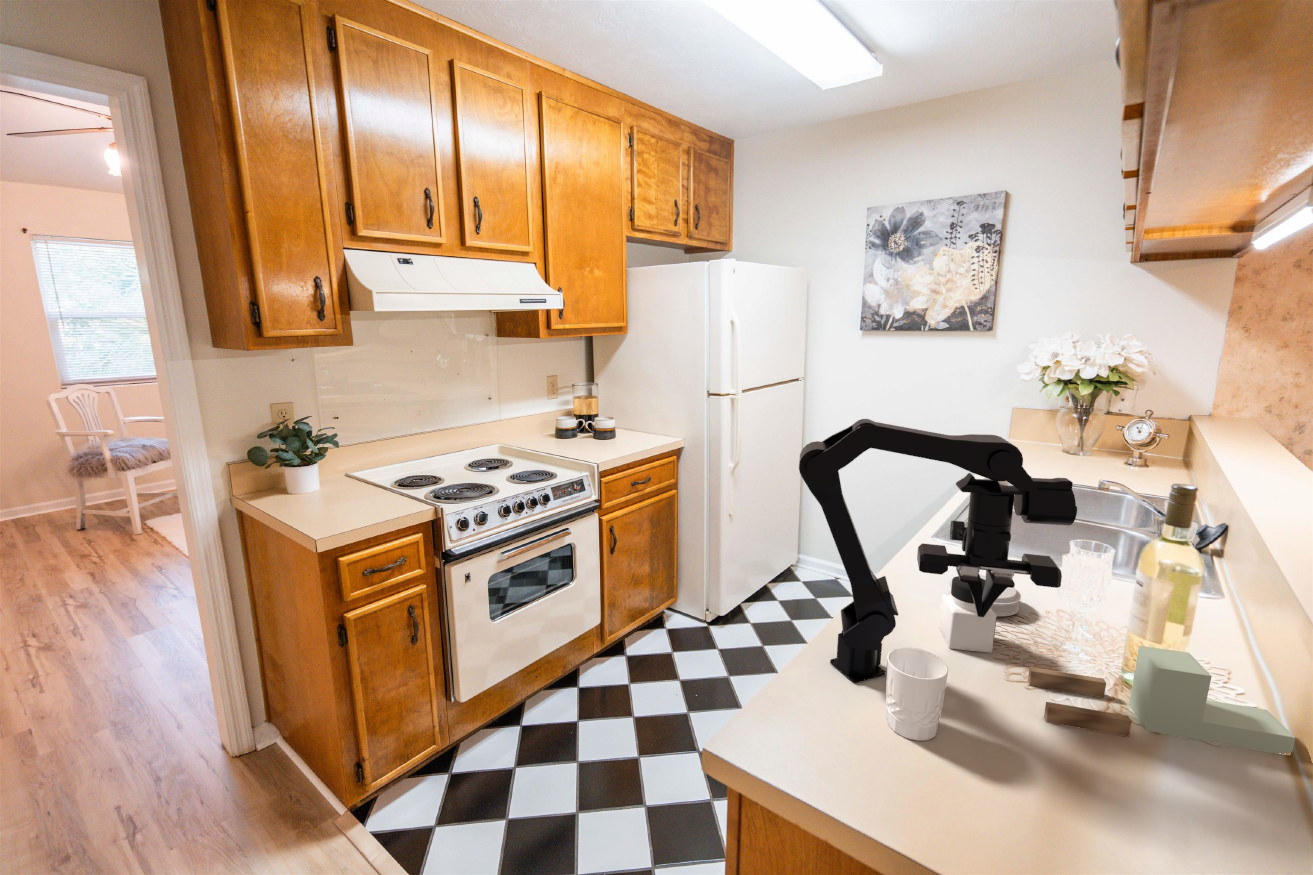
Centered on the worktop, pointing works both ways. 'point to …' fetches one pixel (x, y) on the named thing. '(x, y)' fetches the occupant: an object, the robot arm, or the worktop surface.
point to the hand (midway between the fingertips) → (980, 615)
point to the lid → (1004, 601)
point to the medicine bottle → (966, 620)
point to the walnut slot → (1076, 714)
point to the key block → (1197, 705)
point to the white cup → (915, 692)
